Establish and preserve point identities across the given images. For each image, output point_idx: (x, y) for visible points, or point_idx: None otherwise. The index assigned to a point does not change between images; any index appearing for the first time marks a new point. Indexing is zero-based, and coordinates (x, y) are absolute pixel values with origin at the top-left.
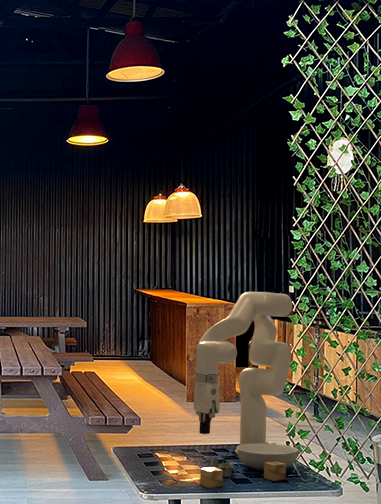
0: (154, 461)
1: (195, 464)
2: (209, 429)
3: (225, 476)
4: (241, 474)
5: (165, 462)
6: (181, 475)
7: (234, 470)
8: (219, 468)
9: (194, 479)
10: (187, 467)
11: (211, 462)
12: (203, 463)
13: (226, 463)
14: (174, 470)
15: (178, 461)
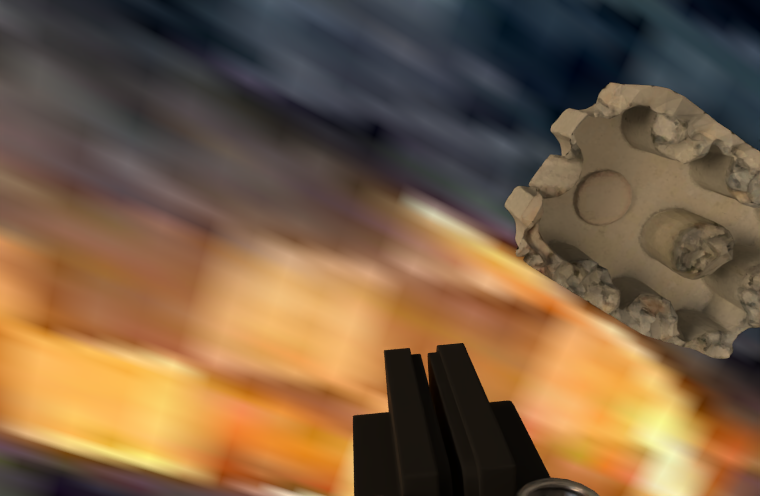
0: (34, 490)
1: (223, 244)
2: (474, 381)
3: (757, 241)
4: (728, 54)
5: (88, 432)
6: None
7: (568, 28)
8: (757, 298)
9: (687, 453)
10: (319, 351)
11: (584, 288)
12: (199, 158)
13: (582, 119)
14: None
15: (66, 326)
